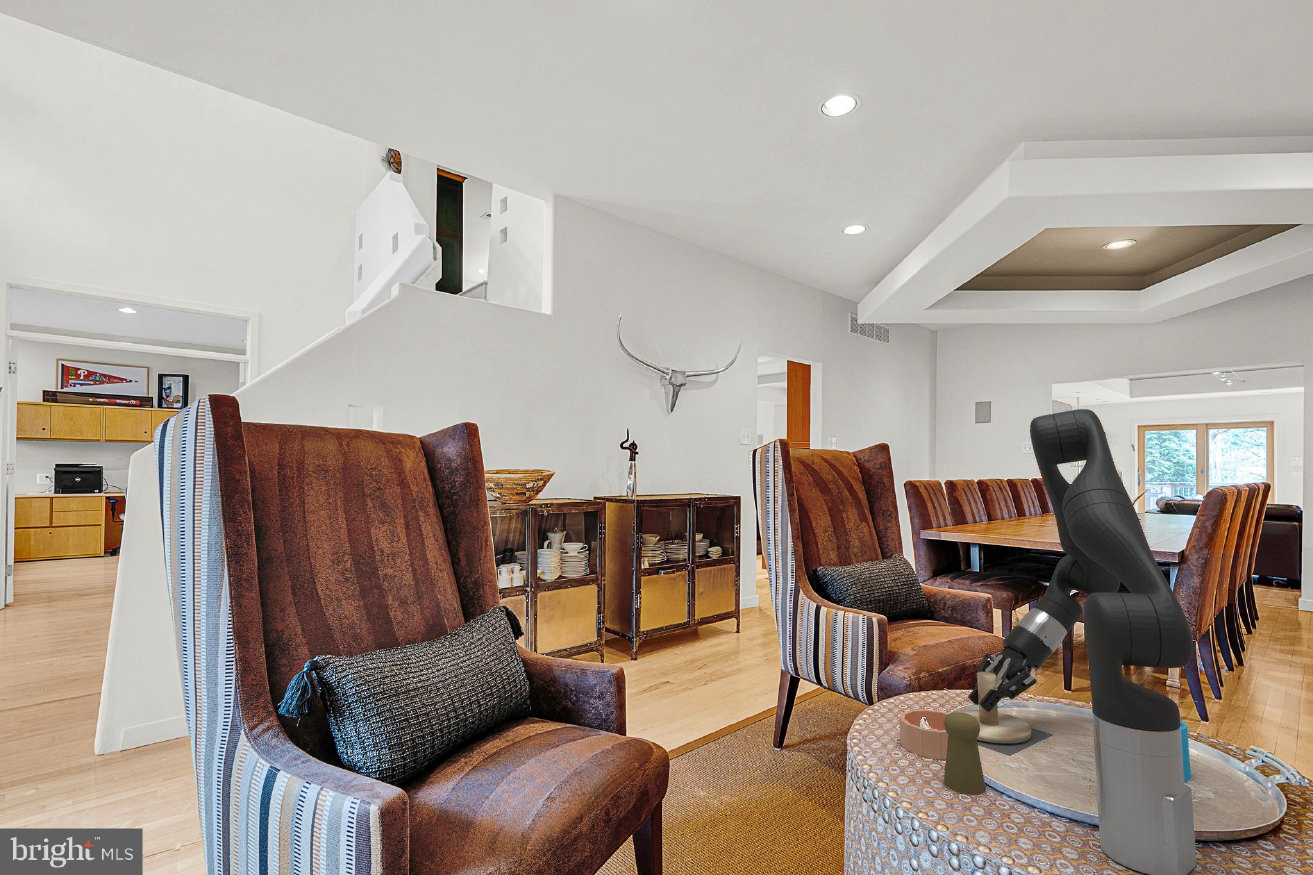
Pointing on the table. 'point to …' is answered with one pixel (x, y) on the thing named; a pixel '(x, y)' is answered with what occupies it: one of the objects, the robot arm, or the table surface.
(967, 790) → the olive pawn
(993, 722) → the lid
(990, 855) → the table surface
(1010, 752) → the mat
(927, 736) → the bowl
